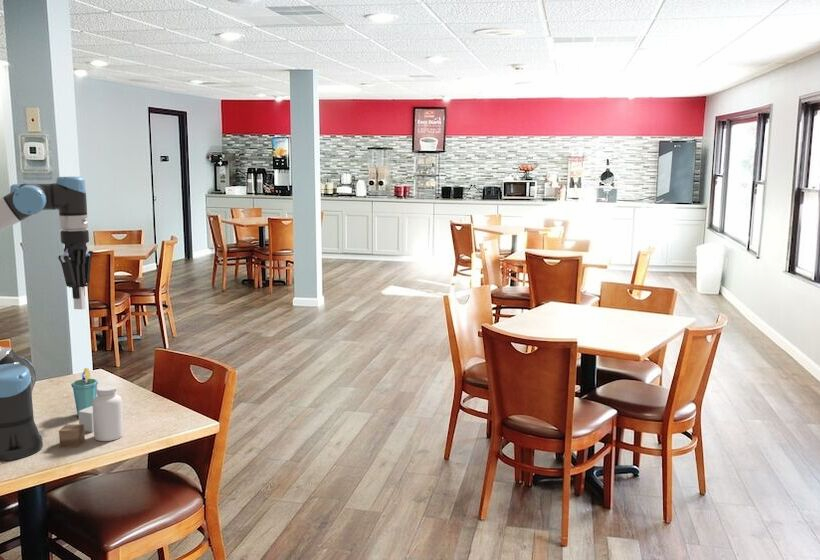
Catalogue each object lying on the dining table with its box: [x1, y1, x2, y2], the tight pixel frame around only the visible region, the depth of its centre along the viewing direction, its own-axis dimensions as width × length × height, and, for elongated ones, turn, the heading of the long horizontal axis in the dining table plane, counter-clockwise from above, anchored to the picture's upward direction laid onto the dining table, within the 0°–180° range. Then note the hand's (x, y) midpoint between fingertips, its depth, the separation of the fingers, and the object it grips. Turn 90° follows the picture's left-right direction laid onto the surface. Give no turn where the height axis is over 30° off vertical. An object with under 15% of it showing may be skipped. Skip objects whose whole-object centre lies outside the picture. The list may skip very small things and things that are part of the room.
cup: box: [70, 367, 99, 417], centre depth 232 cm, size 14×8×15 cm, turn 24°
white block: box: [78, 406, 94, 434], centre depth 221 cm, size 5×5×6 cm
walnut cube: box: [58, 423, 86, 448], centre depth 209 cm, size 5×5×5 cm
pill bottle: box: [92, 384, 124, 442], centre depth 214 cm, size 8×8×15 cm
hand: (79, 308), depth 218 cm, fingers closed
